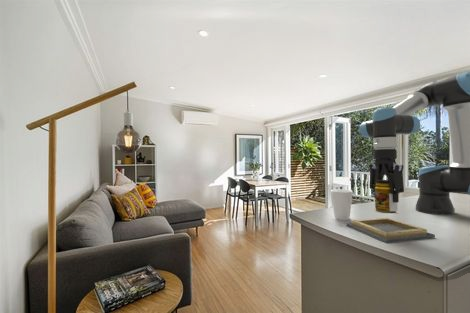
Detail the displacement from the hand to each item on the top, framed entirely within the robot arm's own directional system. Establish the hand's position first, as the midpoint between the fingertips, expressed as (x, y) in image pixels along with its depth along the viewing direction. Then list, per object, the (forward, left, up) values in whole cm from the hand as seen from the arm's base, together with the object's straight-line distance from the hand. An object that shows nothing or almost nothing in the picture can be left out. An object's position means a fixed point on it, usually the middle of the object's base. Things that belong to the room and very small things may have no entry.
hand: (385, 208), depth 89 cm
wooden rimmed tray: (0, 0, -9) cm, 9 cm away
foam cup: (+4, -21, -9) cm, 23 cm away
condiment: (0, -1, -1) cm, 1 cm away
